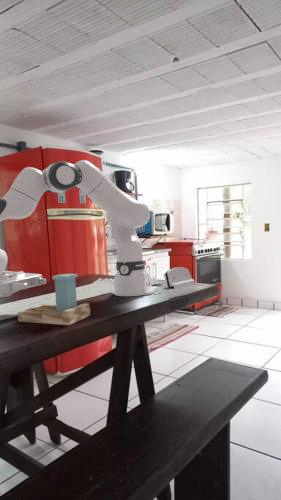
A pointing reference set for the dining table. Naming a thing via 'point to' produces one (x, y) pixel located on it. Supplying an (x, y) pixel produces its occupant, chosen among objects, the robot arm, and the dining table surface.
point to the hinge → (178, 277)
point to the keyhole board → (54, 314)
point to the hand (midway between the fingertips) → (35, 283)
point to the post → (65, 291)
